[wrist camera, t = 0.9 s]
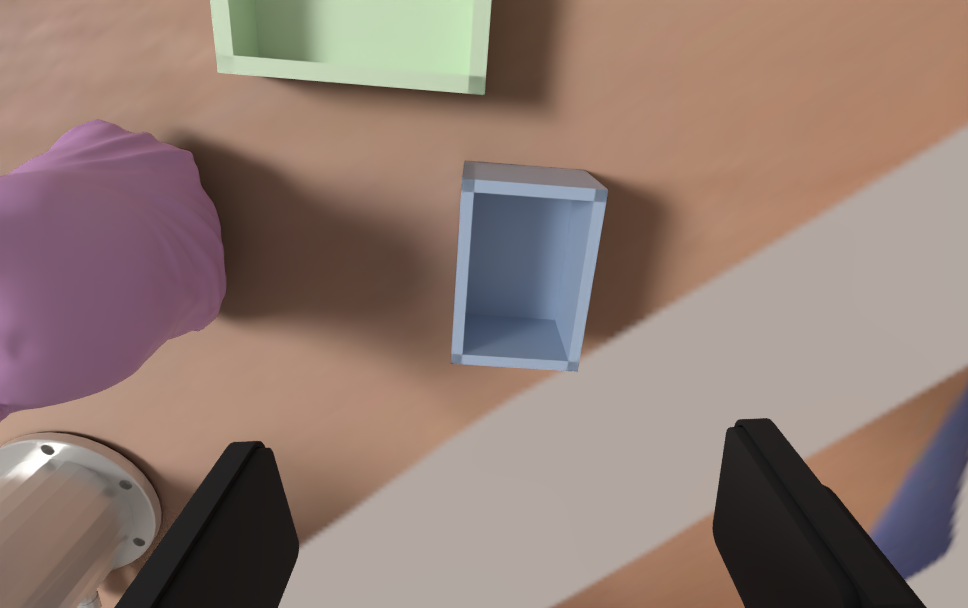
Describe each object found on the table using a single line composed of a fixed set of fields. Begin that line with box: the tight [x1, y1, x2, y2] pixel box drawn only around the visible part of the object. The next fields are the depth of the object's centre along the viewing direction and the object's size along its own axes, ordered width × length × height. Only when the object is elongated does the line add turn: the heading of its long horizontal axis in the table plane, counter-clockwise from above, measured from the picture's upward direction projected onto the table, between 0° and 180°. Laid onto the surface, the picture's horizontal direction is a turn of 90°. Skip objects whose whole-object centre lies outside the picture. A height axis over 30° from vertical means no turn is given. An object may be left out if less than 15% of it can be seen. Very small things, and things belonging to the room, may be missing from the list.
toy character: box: [0, 120, 226, 422], centre depth 23 cm, size 12×10×20 cm
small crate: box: [451, 161, 608, 371], centre depth 30 cm, size 10×7×6 cm
